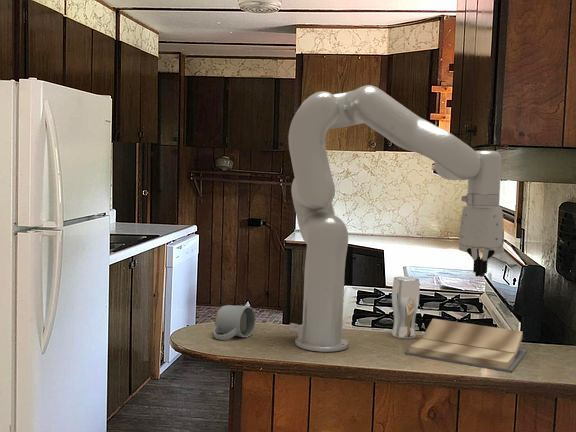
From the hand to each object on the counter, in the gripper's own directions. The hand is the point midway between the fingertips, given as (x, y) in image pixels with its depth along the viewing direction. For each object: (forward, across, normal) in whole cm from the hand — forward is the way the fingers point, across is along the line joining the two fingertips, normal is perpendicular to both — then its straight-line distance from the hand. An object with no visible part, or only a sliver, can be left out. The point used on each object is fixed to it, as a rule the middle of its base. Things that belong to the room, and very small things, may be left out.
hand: (479, 275), depth 161 cm
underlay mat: (+18, 0, -8) cm, 19 cm away
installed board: (+18, 0, -13) cm, 22 cm away
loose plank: (+15, 0, -3) cm, 16 cm away
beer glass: (+18, -18, -1) cm, 26 cm away
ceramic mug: (+17, -54, -29) cm, 63 cm away
